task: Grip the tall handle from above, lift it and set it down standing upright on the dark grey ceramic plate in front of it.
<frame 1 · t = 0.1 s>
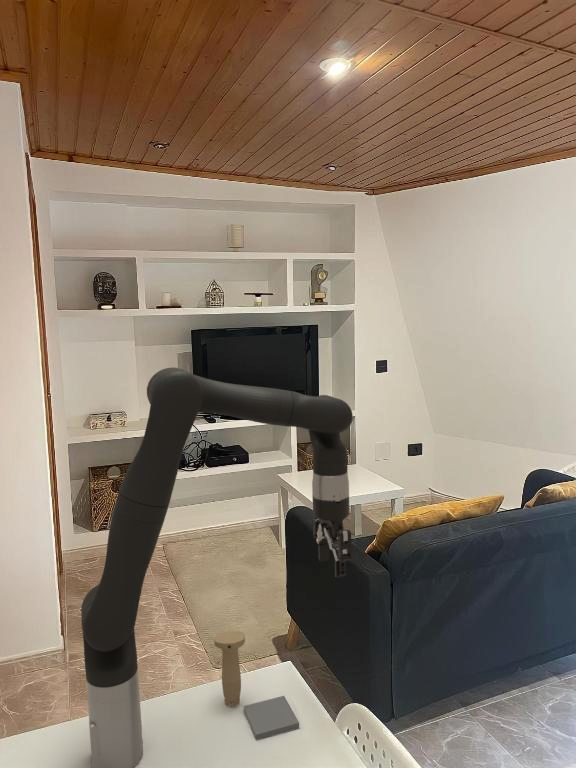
hand: (332, 568, 123), 29 cm above the table, tool pointing down, fingers open, 8 cm apart
handle: (232, 703, 126), on the table
plate: (270, 719, 120), on the table
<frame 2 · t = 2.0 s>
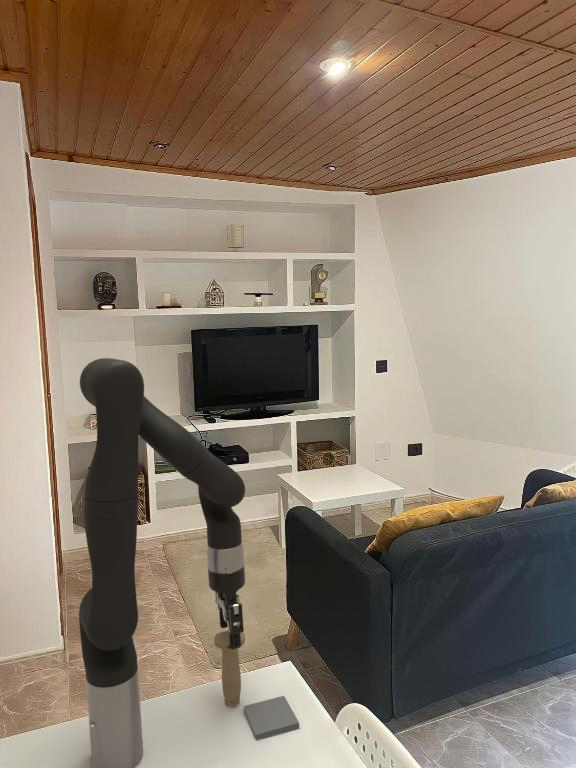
hand: (230, 637, 124), 15 cm above the table, tool pointing down, fingers open, 8 cm apart
nothing on the table moved.
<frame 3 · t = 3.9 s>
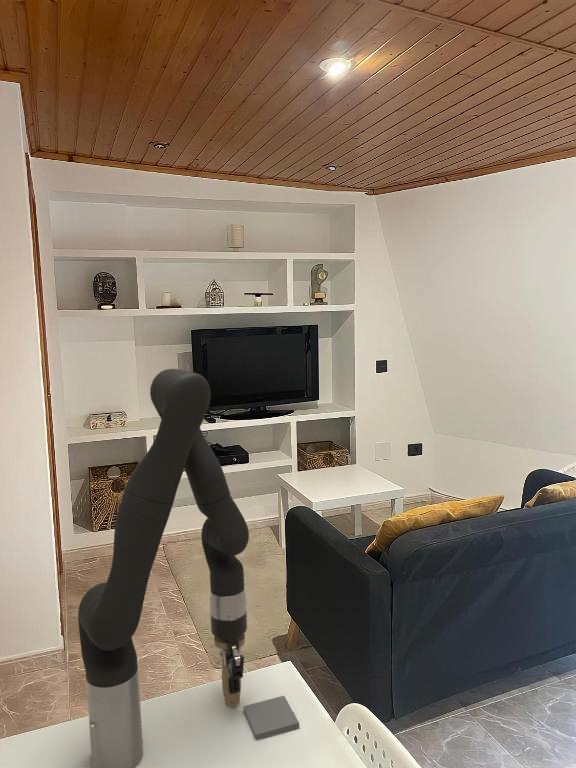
hand: (231, 685, 125), 4 cm above the table, tool pointing down, fingers closed on handle, 4 cm apart
handle: (232, 703, 126), on the table, touching gripper
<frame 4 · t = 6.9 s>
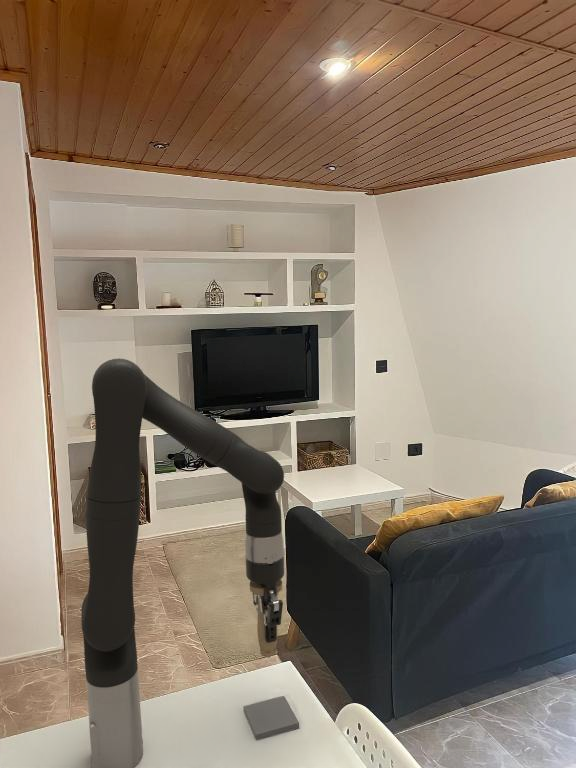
hand: (267, 634, 118), 18 cm above the table, tool pointing down, fingers closed on handle, 4 cm apart
handle: (268, 654, 119), point 14 cm above the table, touching gripper
when the fingers open (6 cm above the table, at t = 9.7 s): handle drops 1 cm, resting on plate.
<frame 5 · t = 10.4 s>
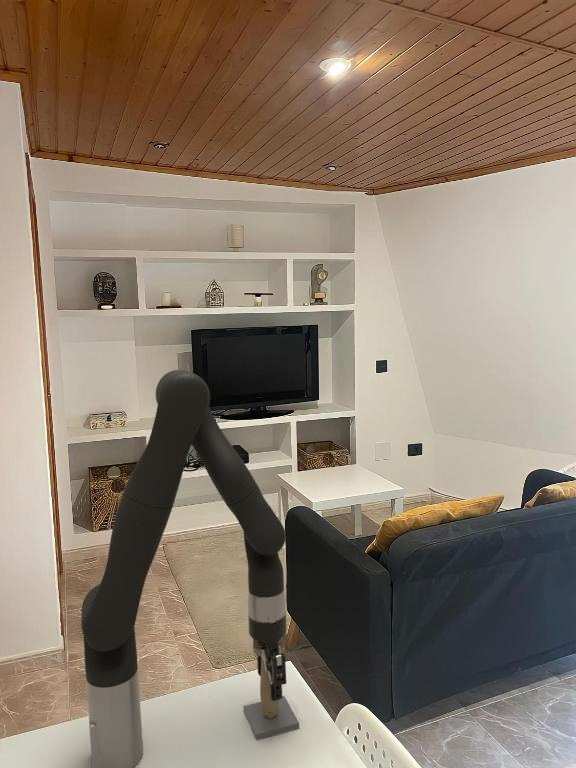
hand: (269, 686, 119), 7 cm above the table, tool pointing down, fingers open, 8 cm apart
handle: (270, 714, 120), point 1 cm above the table, touching plate
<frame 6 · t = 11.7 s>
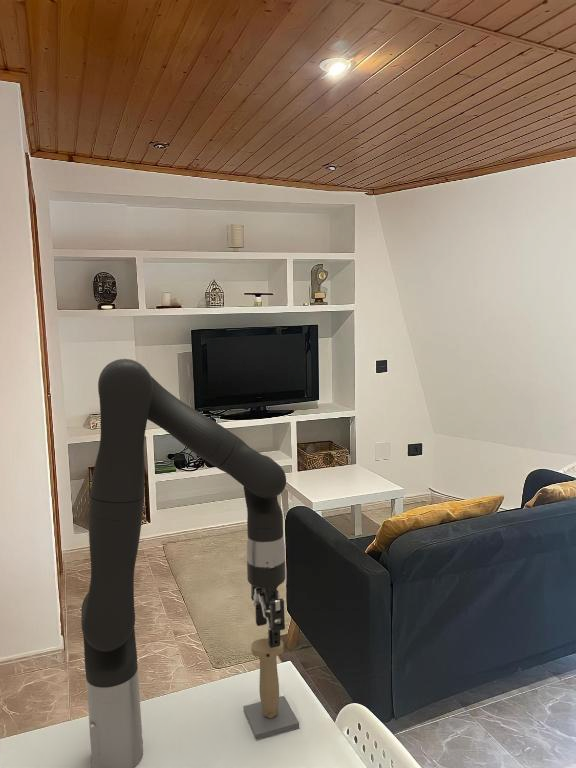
hand: (267, 635, 118), 18 cm above the table, tool pointing down, fingers open, 8 cm apart
nothing on the table moved.
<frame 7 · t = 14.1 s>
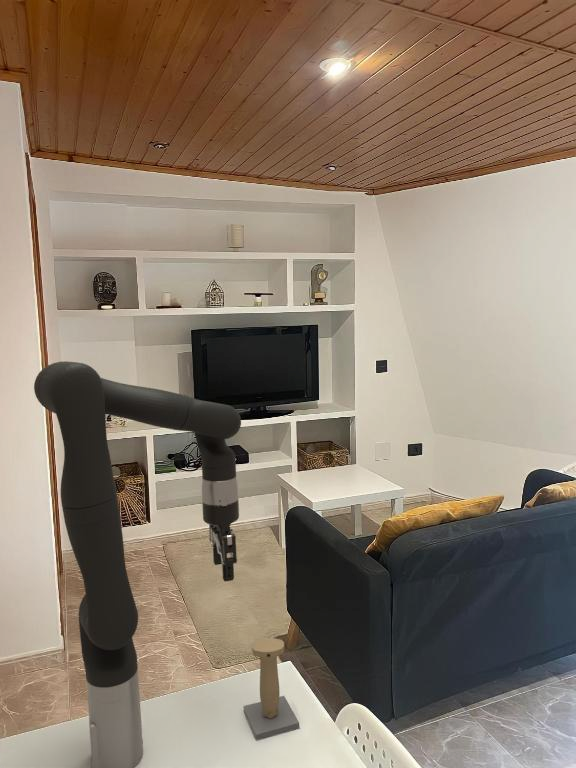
hand: (223, 571, 125), 28 cm above the table, tool pointing down, fingers open, 8 cm apart
nothing on the table moved.
at the end: handle 0.1 cm off-centre on the plate, point 1.0 cm above the plate's base; handle tilted 1°; the gripper is holding nothing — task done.
